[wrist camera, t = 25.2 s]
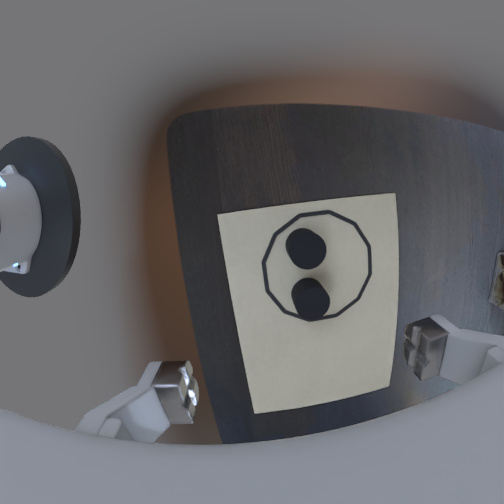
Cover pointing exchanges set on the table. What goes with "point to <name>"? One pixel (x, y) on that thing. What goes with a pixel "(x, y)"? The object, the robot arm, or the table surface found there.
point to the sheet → (336, 285)
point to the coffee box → (498, 283)
